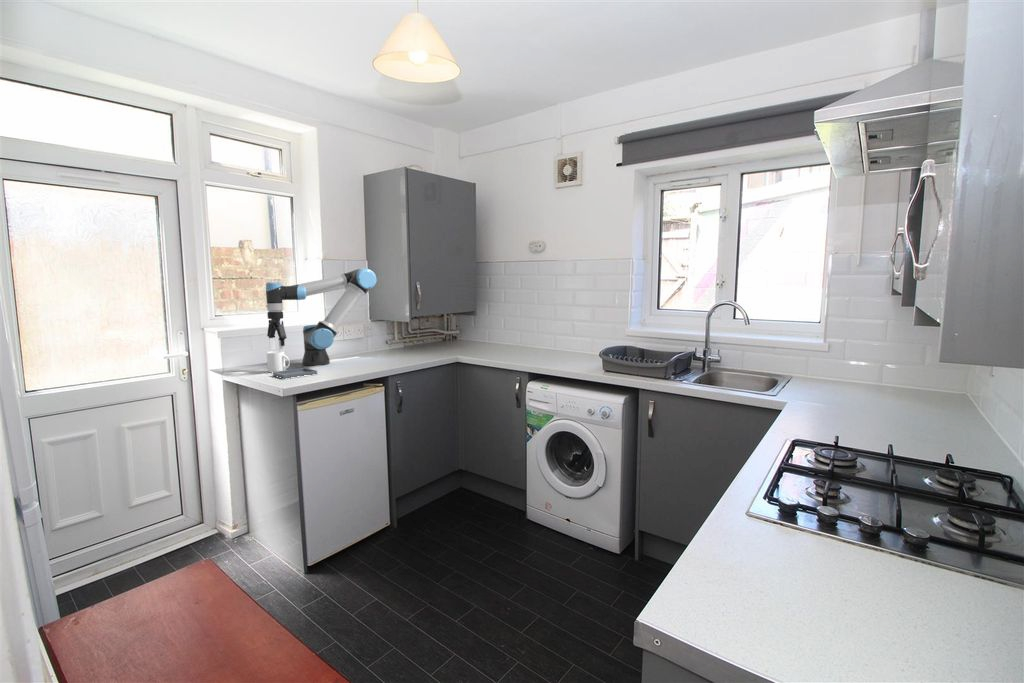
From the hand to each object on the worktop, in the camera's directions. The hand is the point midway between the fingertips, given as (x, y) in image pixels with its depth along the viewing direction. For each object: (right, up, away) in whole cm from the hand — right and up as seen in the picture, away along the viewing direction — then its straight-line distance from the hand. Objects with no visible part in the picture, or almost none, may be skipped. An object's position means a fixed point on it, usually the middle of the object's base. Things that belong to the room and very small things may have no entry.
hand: (277, 350), depth 258 cm
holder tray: (+14, -12, -10) cm, 21 cm away
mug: (0, -11, +2) cm, 12 cm away
